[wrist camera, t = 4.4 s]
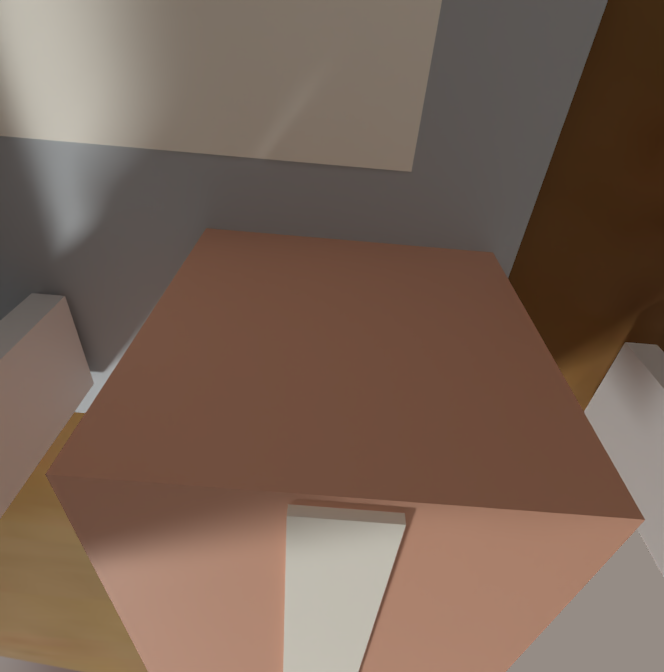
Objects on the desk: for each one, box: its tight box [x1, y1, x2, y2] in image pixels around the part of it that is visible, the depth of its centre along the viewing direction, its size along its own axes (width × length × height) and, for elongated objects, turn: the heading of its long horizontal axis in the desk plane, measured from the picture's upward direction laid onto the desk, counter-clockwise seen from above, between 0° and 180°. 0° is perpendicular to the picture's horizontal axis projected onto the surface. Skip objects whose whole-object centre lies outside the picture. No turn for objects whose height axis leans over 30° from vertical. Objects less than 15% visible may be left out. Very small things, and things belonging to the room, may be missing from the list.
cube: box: [45, 228, 645, 672], centre depth 9 cm, size 6×6×6 cm
